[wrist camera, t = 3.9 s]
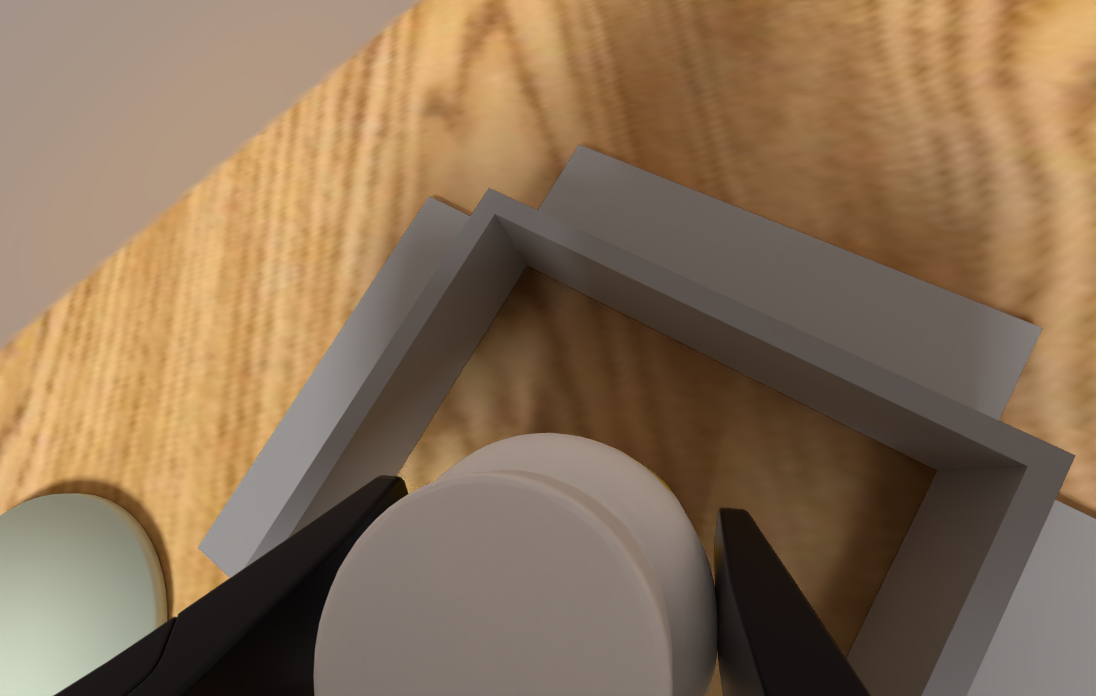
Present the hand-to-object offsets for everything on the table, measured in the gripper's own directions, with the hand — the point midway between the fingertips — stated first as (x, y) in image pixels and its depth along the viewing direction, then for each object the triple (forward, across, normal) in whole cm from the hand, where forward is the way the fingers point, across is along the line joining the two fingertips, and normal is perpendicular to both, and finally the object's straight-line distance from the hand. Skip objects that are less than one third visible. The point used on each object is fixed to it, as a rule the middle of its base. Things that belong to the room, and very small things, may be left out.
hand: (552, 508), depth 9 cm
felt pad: (0, +19, +9) cm, 21 cm away
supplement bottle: (+4, 0, +6) cm, 7 cm away
